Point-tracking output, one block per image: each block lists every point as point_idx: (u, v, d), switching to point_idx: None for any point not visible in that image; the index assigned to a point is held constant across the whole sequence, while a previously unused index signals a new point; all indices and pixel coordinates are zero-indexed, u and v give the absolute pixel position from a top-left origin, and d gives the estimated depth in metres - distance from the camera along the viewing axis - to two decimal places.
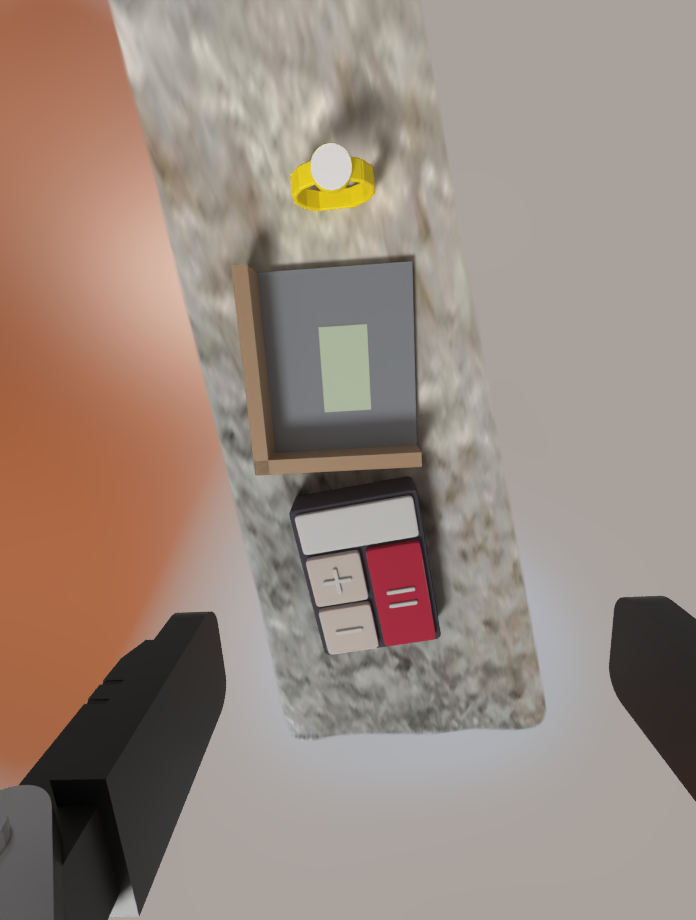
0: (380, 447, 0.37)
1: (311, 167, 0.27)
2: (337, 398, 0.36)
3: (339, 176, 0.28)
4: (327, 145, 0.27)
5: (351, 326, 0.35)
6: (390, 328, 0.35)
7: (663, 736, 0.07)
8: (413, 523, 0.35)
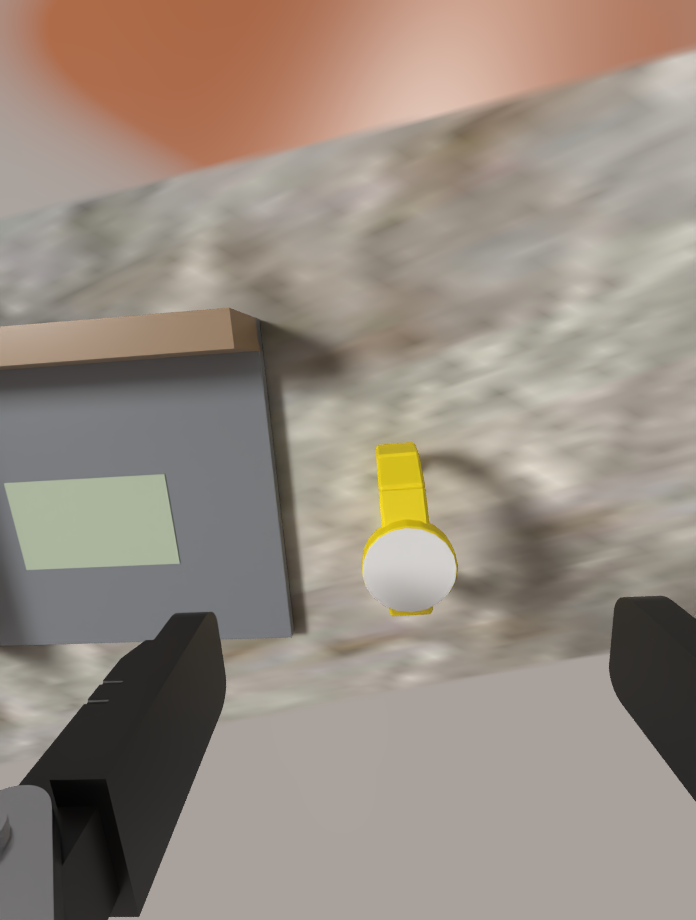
0: None
1: (408, 530, 0.12)
2: (35, 508, 0.18)
3: (390, 585, 0.12)
4: (453, 564, 0.12)
5: (173, 535, 0.18)
6: (177, 603, 0.19)
7: (663, 736, 0.07)
8: None
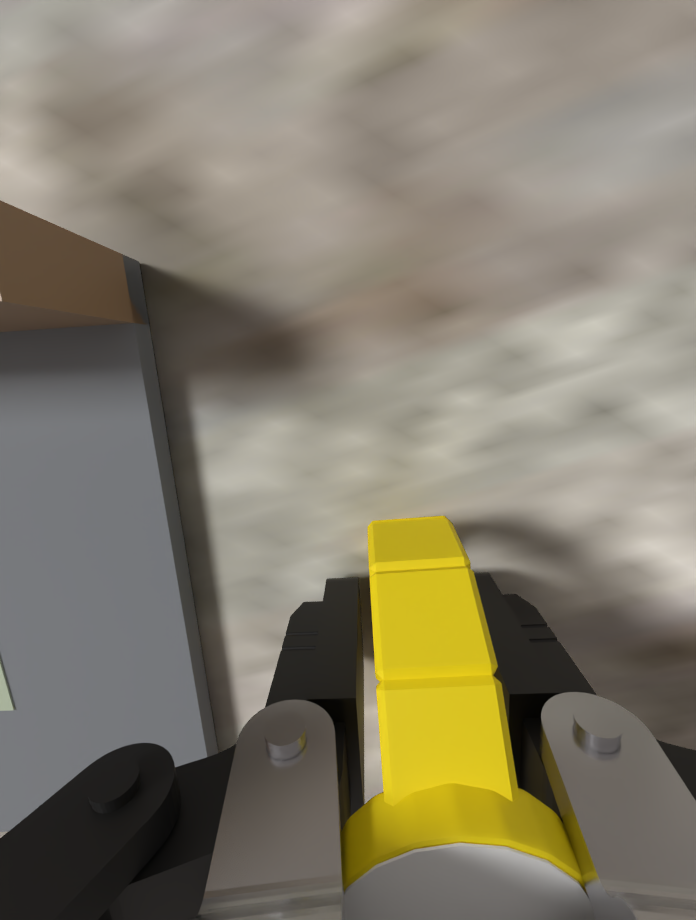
0: None
1: (467, 852, 0.04)
2: None
3: None
4: None
5: None
6: (15, 773, 0.11)
7: None
8: None
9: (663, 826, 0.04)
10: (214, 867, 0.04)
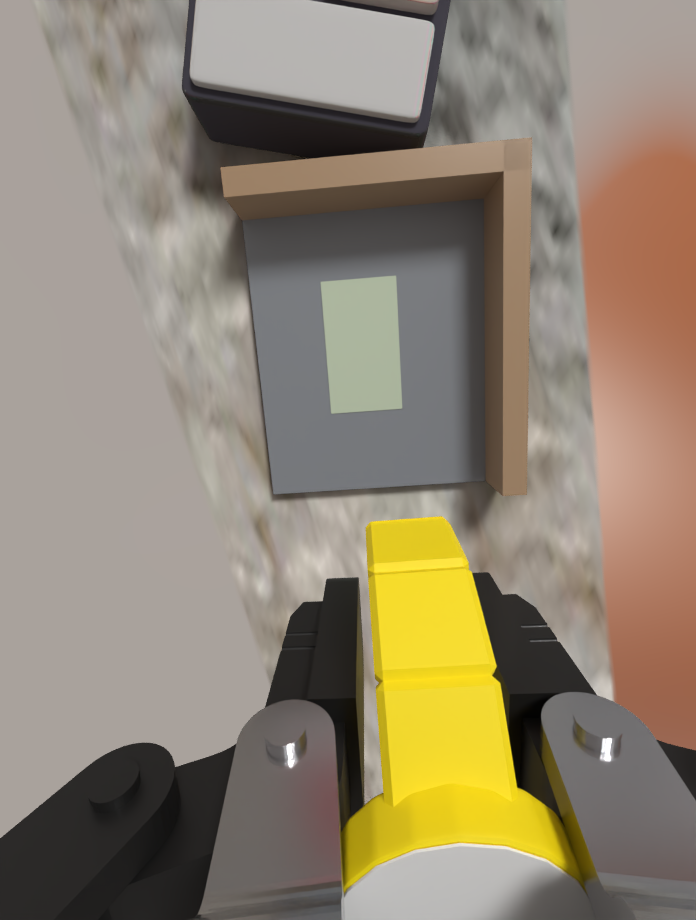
0: (301, 212, 0.21)
1: (468, 852, 0.04)
2: (374, 299, 0.22)
3: None
4: None
5: (354, 410, 0.24)
6: (296, 407, 0.24)
7: None
8: (201, 14, 0.18)
9: (662, 825, 0.04)
10: (214, 870, 0.04)
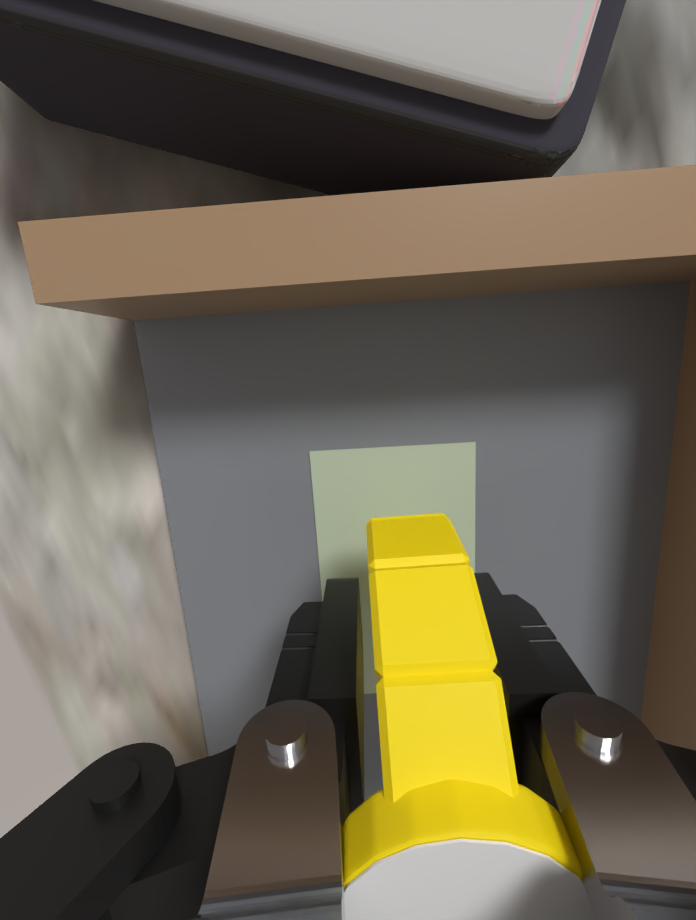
0: (266, 309, 0.09)
1: (468, 847, 0.04)
2: (426, 489, 0.10)
3: None
4: None
5: None
6: (261, 681, 0.12)
7: None
8: None
9: (663, 826, 0.04)
10: (214, 868, 0.04)
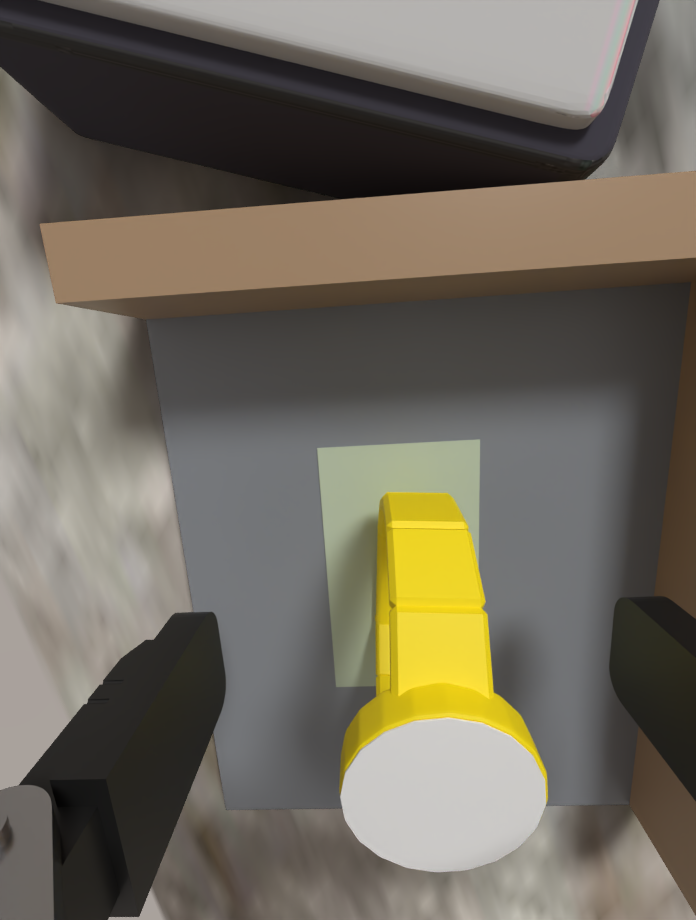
0: (276, 309, 0.09)
1: (454, 724, 0.05)
2: (431, 485, 0.11)
3: (396, 816, 0.06)
4: (539, 796, 0.06)
5: None
6: (268, 674, 0.12)
7: (663, 736, 0.07)
8: None
9: None
10: None
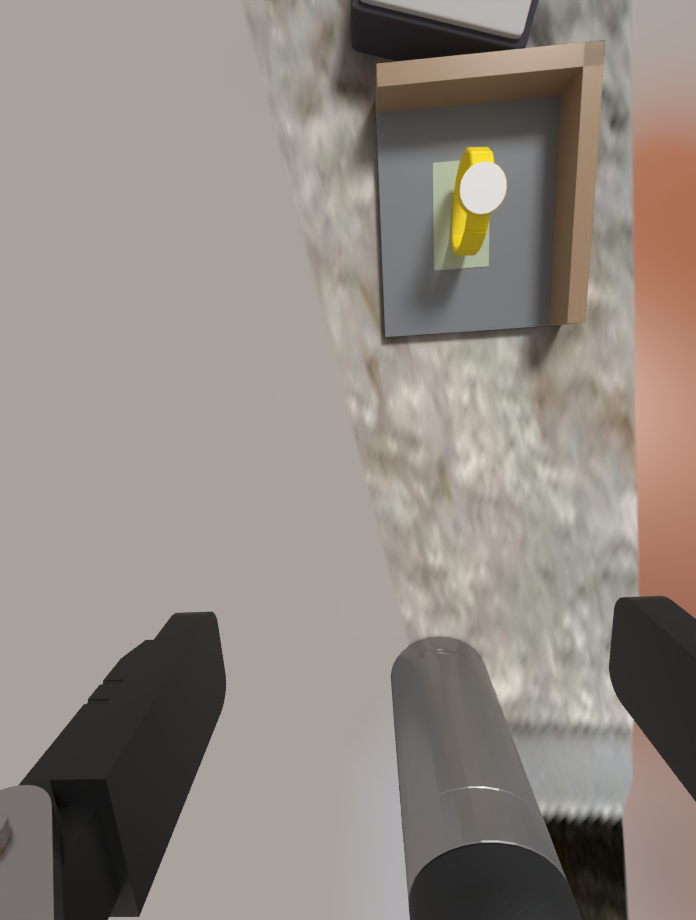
0: (423, 106, 0.29)
1: (486, 162, 0.24)
2: None
3: (471, 198, 0.25)
4: (504, 185, 0.25)
5: (451, 268, 0.31)
6: (407, 265, 0.31)
7: (663, 736, 0.07)
8: None
9: None
10: None
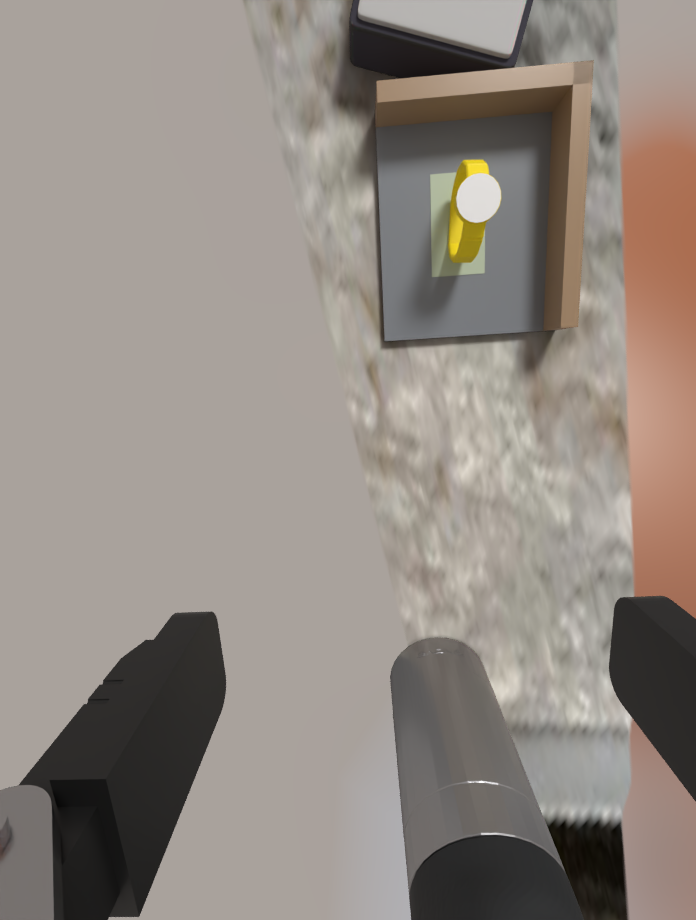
0: (420, 121, 0.30)
1: (481, 174, 0.26)
2: None
3: (468, 207, 0.26)
4: (499, 196, 0.26)
5: (448, 275, 0.32)
6: (406, 272, 0.32)
7: (663, 736, 0.07)
8: None
9: None
10: None
